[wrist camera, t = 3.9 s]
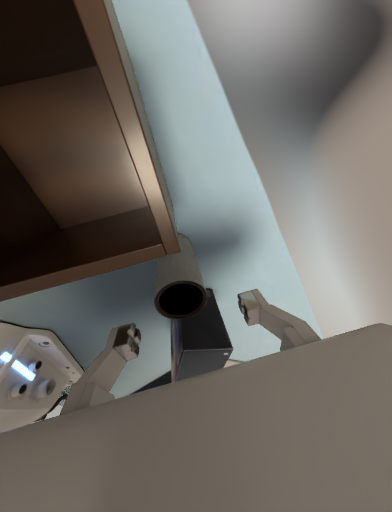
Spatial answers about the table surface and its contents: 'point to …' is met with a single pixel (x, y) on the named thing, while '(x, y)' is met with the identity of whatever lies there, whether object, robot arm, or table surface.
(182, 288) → the grey hollow cylinder
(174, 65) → the table surface
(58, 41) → the storage box
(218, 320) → the small box
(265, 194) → the table surface
